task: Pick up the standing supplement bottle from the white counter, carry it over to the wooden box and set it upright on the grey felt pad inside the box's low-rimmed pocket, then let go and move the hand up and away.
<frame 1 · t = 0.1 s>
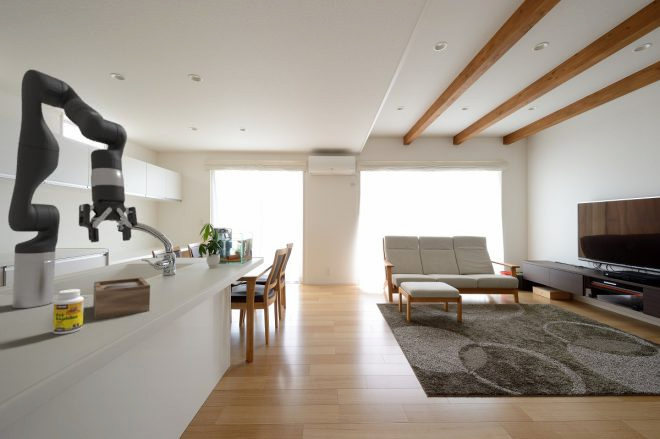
hand: (111, 241, 79), 22 cm above the counter, tool pointing down, fingers open, 8 cm apart
supplement bottle: (68, 331, 70), on the counter
wooden box: (120, 308, 88), on the counter
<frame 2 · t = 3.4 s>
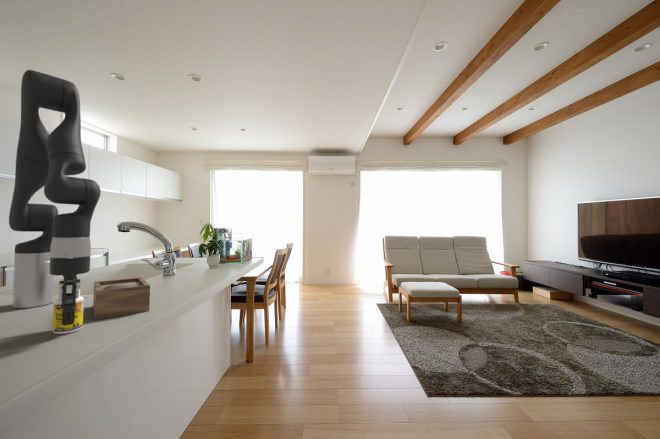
hand: (68, 320, 70), 3 cm above the counter, tool pointing down, fingers closed on supplement bottle, 5 cm apart
supplement bottle: (68, 331, 70), on the counter, touching gripper
when the fingers open (11 cm above the counter, at t = 9.6 s): supplement bottle drops 1 cm, resting on wooden box.
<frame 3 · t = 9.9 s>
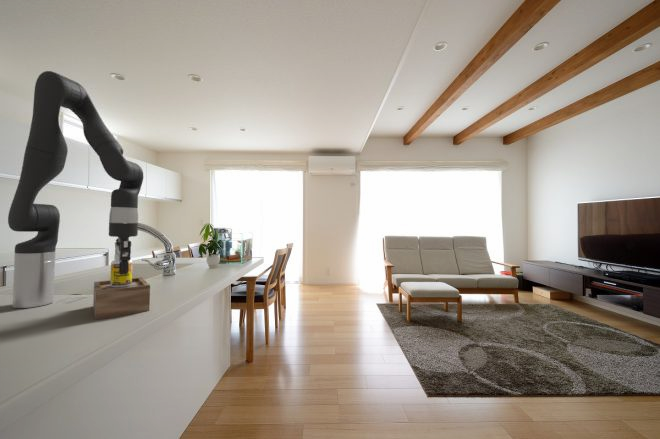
hand: (122, 271, 88), 12 cm above the counter, tool pointing down, fingers open, 8 cm apart
supplement bottle: (121, 286, 88), point 7 cm above the counter, touching wooden box
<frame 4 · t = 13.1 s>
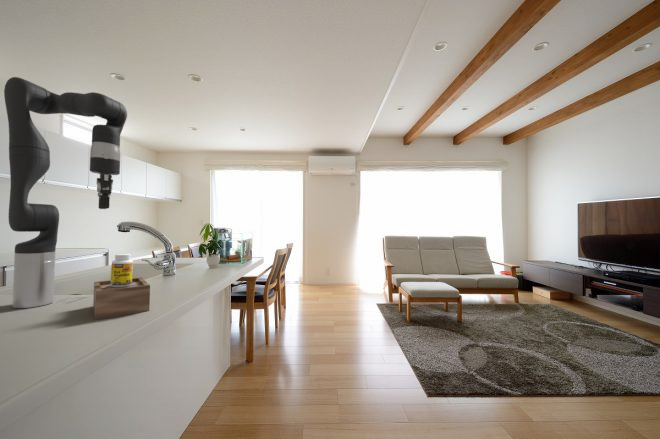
hand: (103, 208, 88), 32 cm above the counter, tool pointing down, fingers open, 8 cm apart
nothing on the counter moved.
at the end: supplement bottle inside the target area on the wooden box (0.1 cm from its centre), point 7.0 cm above the wooden box's base; supplement bottle tilted 1°; the gripper is holding nothing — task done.
